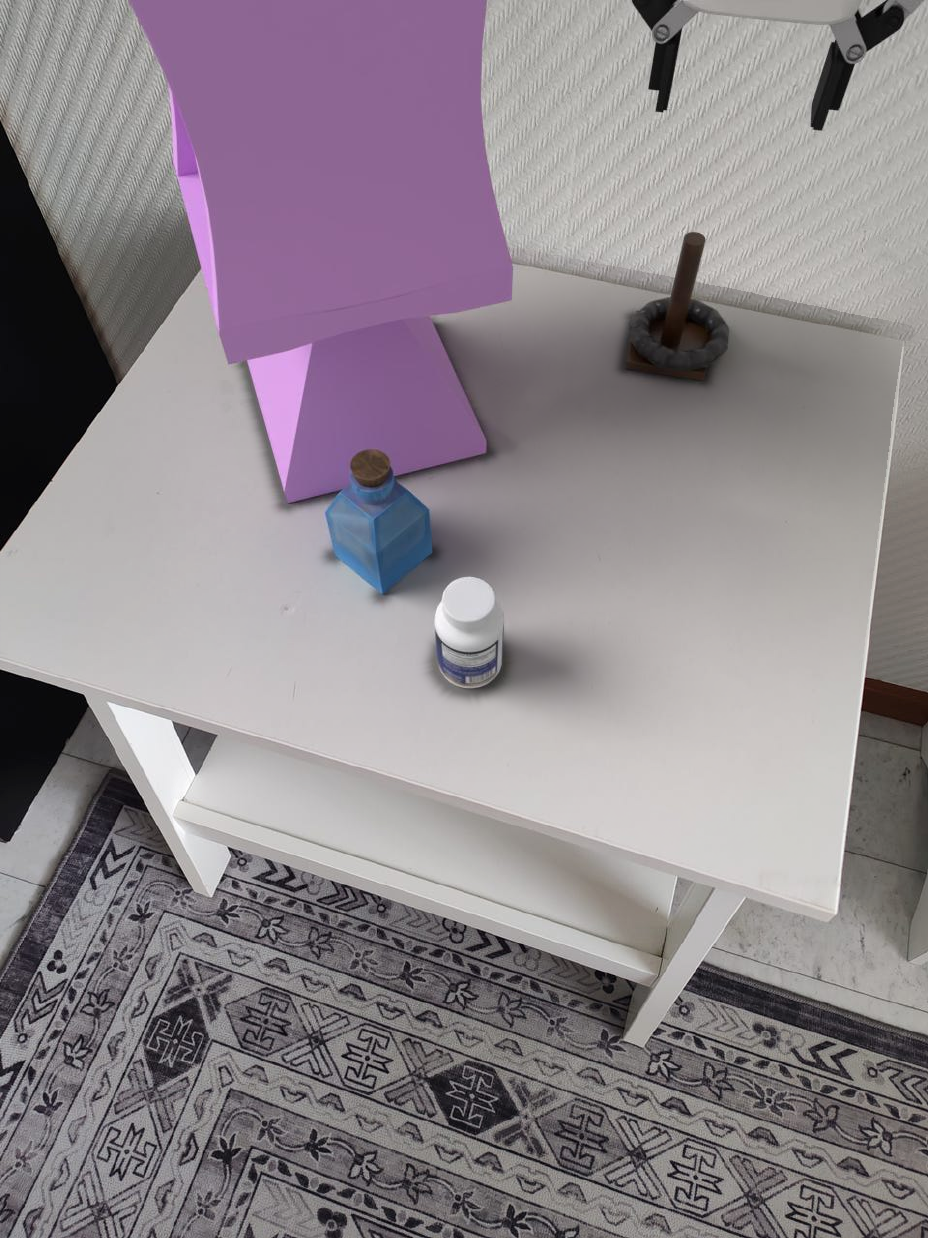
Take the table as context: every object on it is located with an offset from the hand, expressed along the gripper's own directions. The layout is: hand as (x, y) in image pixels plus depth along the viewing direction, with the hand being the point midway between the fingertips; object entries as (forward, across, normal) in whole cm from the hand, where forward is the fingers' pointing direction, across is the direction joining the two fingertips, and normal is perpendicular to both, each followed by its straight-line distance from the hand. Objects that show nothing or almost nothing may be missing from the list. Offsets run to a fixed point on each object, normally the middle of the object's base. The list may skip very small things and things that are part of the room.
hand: (738, 109), depth 56 cm
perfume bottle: (+34, +22, +16) cm, 43 cm away
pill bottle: (+34, +12, +25) cm, 43 cm away
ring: (+31, -1, -16) cm, 35 cm away
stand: (+33, 0, -16) cm, 37 cm away
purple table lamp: (+34, +29, -1) cm, 44 cm away
